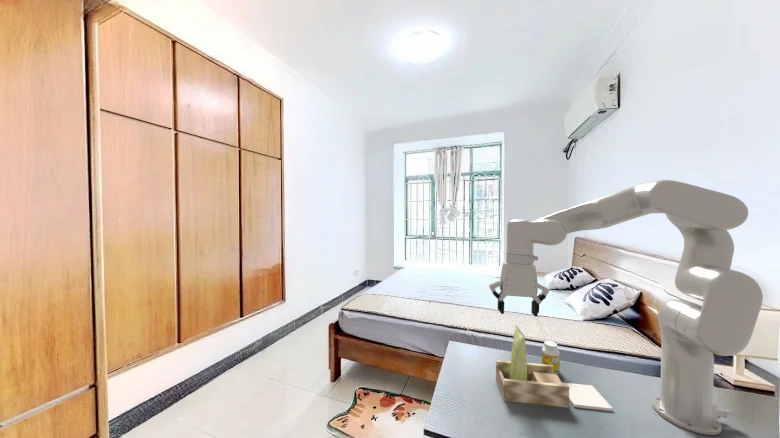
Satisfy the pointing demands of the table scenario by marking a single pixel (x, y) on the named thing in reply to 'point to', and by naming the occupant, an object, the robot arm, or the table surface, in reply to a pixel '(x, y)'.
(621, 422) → the table surface
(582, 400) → the tile
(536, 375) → the offcut top
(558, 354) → the supplement bottle
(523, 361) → the tube
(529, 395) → the tray
